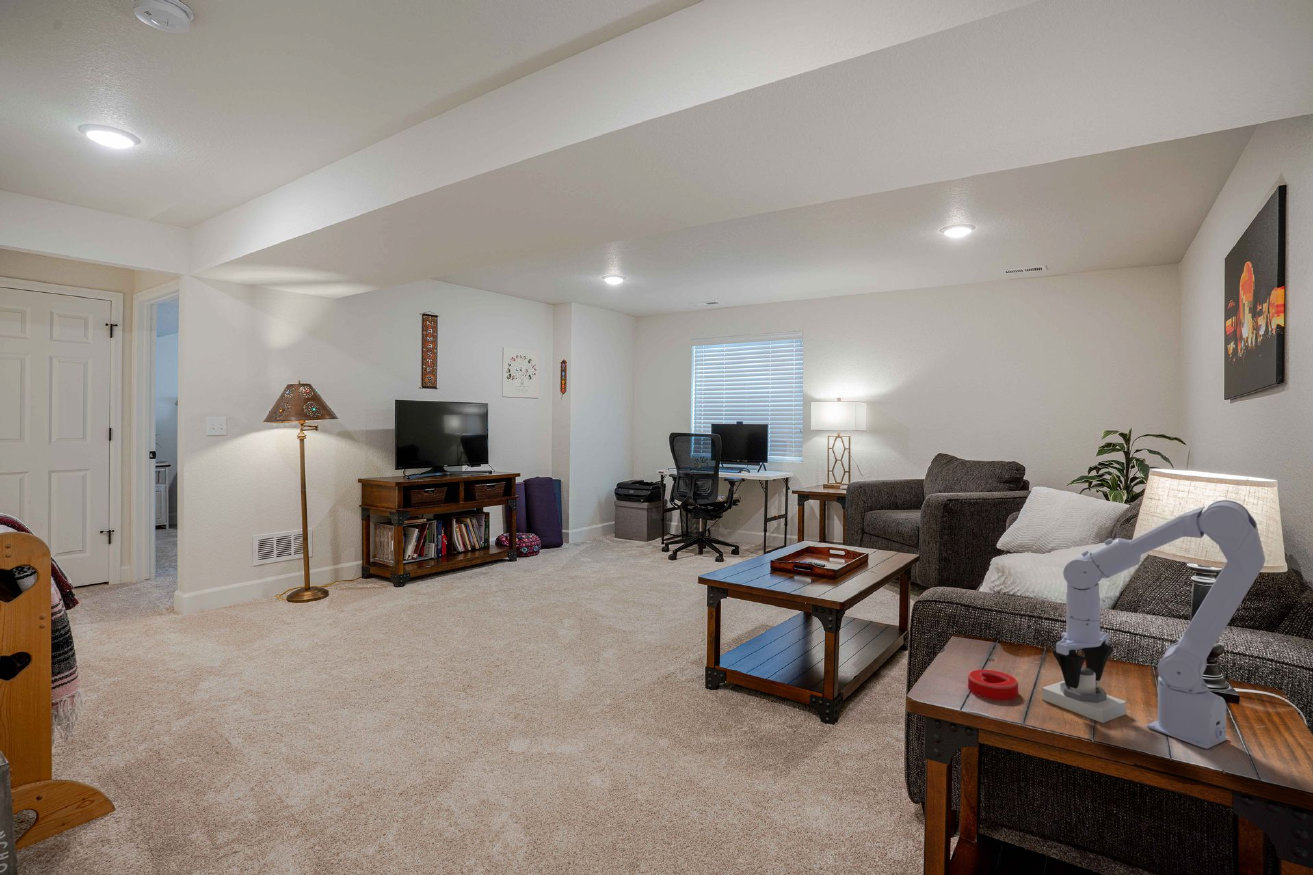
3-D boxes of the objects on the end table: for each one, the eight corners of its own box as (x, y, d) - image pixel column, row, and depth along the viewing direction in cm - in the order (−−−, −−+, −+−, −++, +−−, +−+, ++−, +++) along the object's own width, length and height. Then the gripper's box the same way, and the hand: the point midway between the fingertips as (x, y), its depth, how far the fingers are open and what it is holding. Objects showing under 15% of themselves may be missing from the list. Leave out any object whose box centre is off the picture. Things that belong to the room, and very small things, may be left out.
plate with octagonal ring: (1126, 713, 128) (1126, 695, 128) (1102, 722, 125) (1102, 704, 125) (1065, 691, 139) (1065, 674, 139) (1041, 699, 136) (1041, 681, 136)
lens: (1100, 695, 131) (1100, 671, 131) (1087, 700, 129) (1087, 675, 129) (1077, 687, 135) (1077, 664, 135) (1065, 692, 133) (1065, 668, 133)
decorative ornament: (1027, 700, 136) (1027, 685, 136) (983, 702, 135) (983, 687, 135) (1001, 681, 146) (1001, 668, 145) (959, 683, 145) (959, 669, 145)
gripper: (1083, 606, 138) (1084, 669, 139) (1041, 616, 132) (1041, 682, 132) (1119, 615, 132) (1119, 680, 132) (1076, 626, 126) (1076, 695, 126)
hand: (1083, 682), depth 132 cm, fingers open, 7 cm apart
